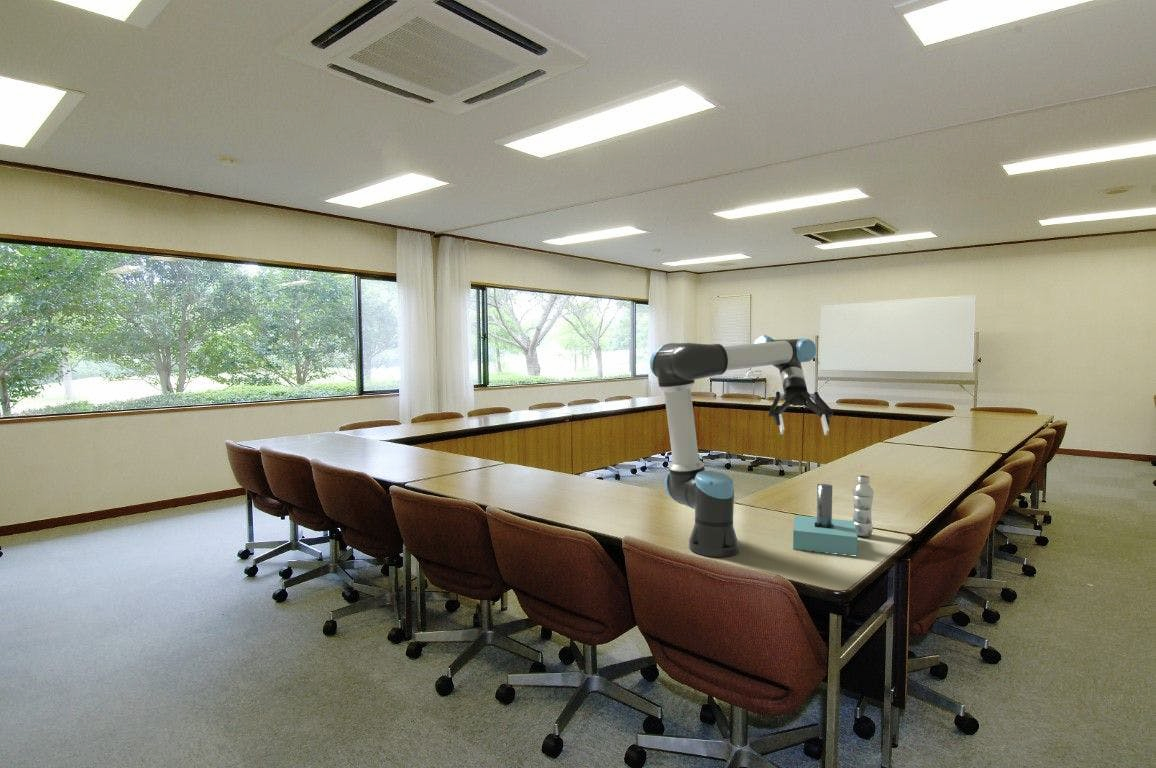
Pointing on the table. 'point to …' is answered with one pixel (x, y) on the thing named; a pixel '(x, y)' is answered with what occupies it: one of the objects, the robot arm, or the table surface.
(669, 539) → the table surface
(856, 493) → the plastic bottle
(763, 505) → the table surface
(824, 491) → the pin
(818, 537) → the socket block
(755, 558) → the table surface
